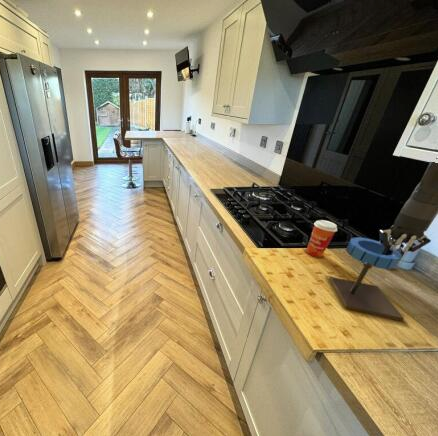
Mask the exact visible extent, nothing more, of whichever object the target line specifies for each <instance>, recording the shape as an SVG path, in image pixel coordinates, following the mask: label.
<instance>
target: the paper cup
mask: <svg viewBox="0 0 438 436" xmlns="http://www.w3.org/2000/svg"><path fill="white" fill-rule="evenodd" d="M313 225H314V226H313V228H312V232H311V235H310V238H309V241H308V244H307V246H306V247H307V248H306V253H307V254H308V255H310V256H311V257H314V258H321V257H323V255H324V253H325V252H326V250H327V248H328V246H329V244H330V242H331V241H332V239H333V237H334V235H335V233H336V232H338V225H337V224H336V223H334V222H332V221H329V220H324V219H319V220H316V221H315V222H313Z"/></svg>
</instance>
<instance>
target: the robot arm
mask: <svg viewBox="0 0 438 436" xmlns="http://www.w3.org/2000/svg"><path fill="white" fill-rule="evenodd" d="M436 159H438V157H436ZM437 216H438V163H435V162H431V161H430V162H429V163H428V166H427V168H426V170H425V172H424V174H423V176H422V178H421V179H420V182H418V183H417V184H416V187H415V188H414V189H413V191H412V193H411V194H410V196H409V198H408V199H407V200H406V201H405V203H404V205H402V208H401V209H400V211H399V213H398V214H397V216H396V218H395V220H394V223H393V225H392V226H391V227H390V228H389V229H384V230H383V229H382V228H381V229H379V230H378V237H379V241H380V243H381V244H382V245H383V246H384V247H385V249H384V251H383V252H382V255H391V254H392V252H393V250H394V248H395V247H396V246H397V245H399V249H396V250H397V251H398V252H399V253H401V259H402V258H403V257H404V255H405V254H406V253H408V252H411V253H415V252H416V251H418V250H419V249H421V248H423V247H424V246H426V245H428V244H430V243H431V242H432V239H430V238H429V237H427V236H425V232H427V231H428V229H429V228H430V226H431V225H432V223H433V222H434V221H435V219H436V217H437ZM388 239H389V241H388Z"/></svg>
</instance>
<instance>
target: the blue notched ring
mask: <svg viewBox="0 0 438 436" xmlns="http://www.w3.org/2000/svg"><path fill="white" fill-rule="evenodd" d="M384 249H385V247H384V246H383V245H382V244H381V243H380V242H379V241H378V240H375V239H371V238H367V237H359V236H358V237H351V238H350V240H349V242H348V244H347V246H346V248H345V252H346V253H347V254H348V255H349V256H350V257H351V258H353V259H355V260H356V261H358V262H360V263H362V264H364V263H365V262H369V263H371V264H372V267H374V268H378V269H383V270H391V269H393V268H395V267H396V268H397V266H398V265H397V264H399V263H400V261H401V260H402V258H401V253H399V252H398V251H397V250H396V249H394V250H393V252H392V254H391V255H382V252H383V251H384ZM400 259H401V260H400ZM398 262H399V263H398ZM396 265H397V266H396ZM396 268H395V269H396Z"/></svg>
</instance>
